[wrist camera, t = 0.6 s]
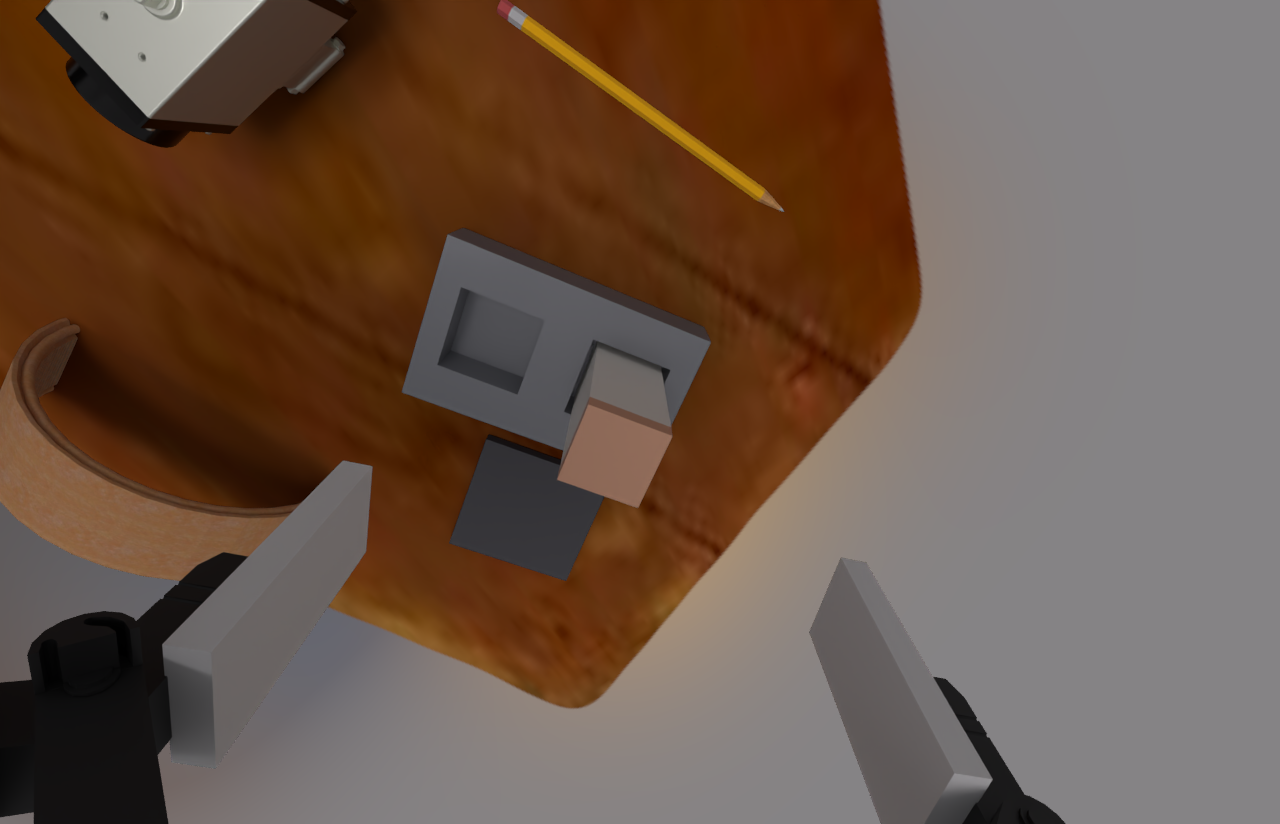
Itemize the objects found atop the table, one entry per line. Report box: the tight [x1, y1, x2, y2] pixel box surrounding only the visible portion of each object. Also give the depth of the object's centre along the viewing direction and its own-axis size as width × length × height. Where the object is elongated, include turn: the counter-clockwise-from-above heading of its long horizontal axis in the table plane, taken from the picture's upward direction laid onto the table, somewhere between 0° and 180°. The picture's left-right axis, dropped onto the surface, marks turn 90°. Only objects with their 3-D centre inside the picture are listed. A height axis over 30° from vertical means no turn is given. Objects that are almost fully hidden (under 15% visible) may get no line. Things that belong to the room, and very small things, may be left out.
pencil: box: [497, 0, 784, 212], centre depth 35 cm, size 1×19×1 cm, turn 57°
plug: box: [557, 341, 673, 508], centre depth 34 cm, size 4×4×12 cm
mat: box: [449, 435, 604, 581], centre depth 44 cm, size 9×9×1 cm
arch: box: [0, 318, 302, 581], centre depth 37 cm, size 6×20×10 cm, turn 51°
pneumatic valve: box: [36, 0, 357, 148], centre depth 27 cm, size 6×12×12 cm, turn 126°
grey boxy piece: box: [402, 228, 711, 450], centre depth 38 cm, size 16×10×4 cm, turn 67°
